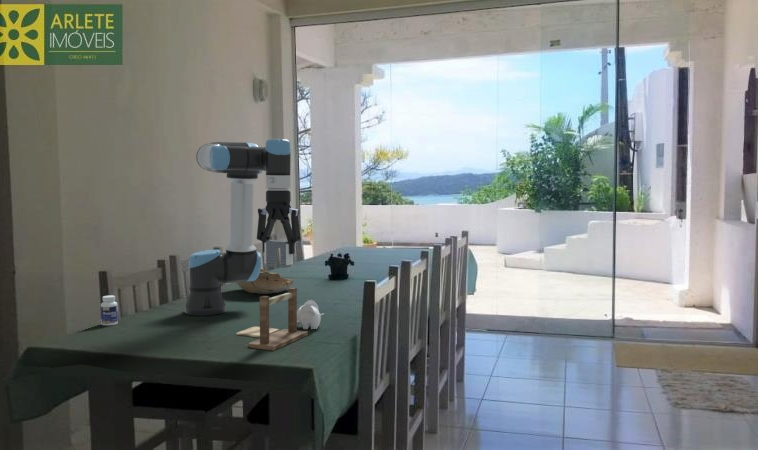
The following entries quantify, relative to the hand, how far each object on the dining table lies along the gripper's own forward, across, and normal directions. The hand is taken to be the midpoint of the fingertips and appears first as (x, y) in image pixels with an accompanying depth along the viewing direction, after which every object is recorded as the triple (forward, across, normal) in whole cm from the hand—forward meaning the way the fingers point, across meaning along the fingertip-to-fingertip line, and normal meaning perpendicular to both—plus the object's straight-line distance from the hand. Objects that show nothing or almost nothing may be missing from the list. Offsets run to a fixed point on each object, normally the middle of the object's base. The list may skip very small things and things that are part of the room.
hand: (278, 263), depth 188 cm
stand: (+24, 0, 0) cm, 24 cm away
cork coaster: (+24, -12, +6) cm, 28 cm away
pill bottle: (+25, -66, -5) cm, 70 cm away
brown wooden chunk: (+25, -54, +69) cm, 91 cm away
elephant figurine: (+25, -1, +19) cm, 31 cm away
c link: (+1, 0, 0) cm, 1 cm away
